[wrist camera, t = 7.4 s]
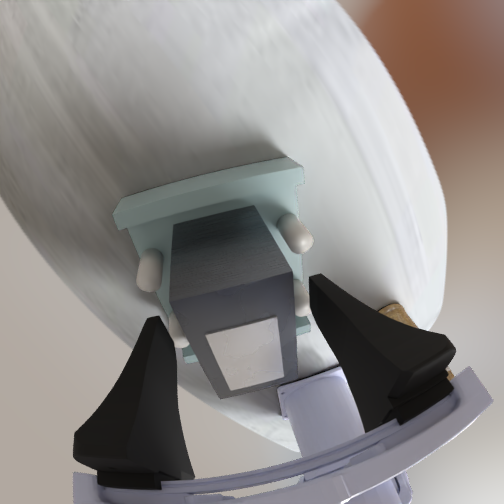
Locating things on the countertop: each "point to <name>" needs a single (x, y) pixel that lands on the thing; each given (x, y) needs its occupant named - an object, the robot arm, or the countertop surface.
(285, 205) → the tray
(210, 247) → the dark grey block
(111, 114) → the countertop surface
